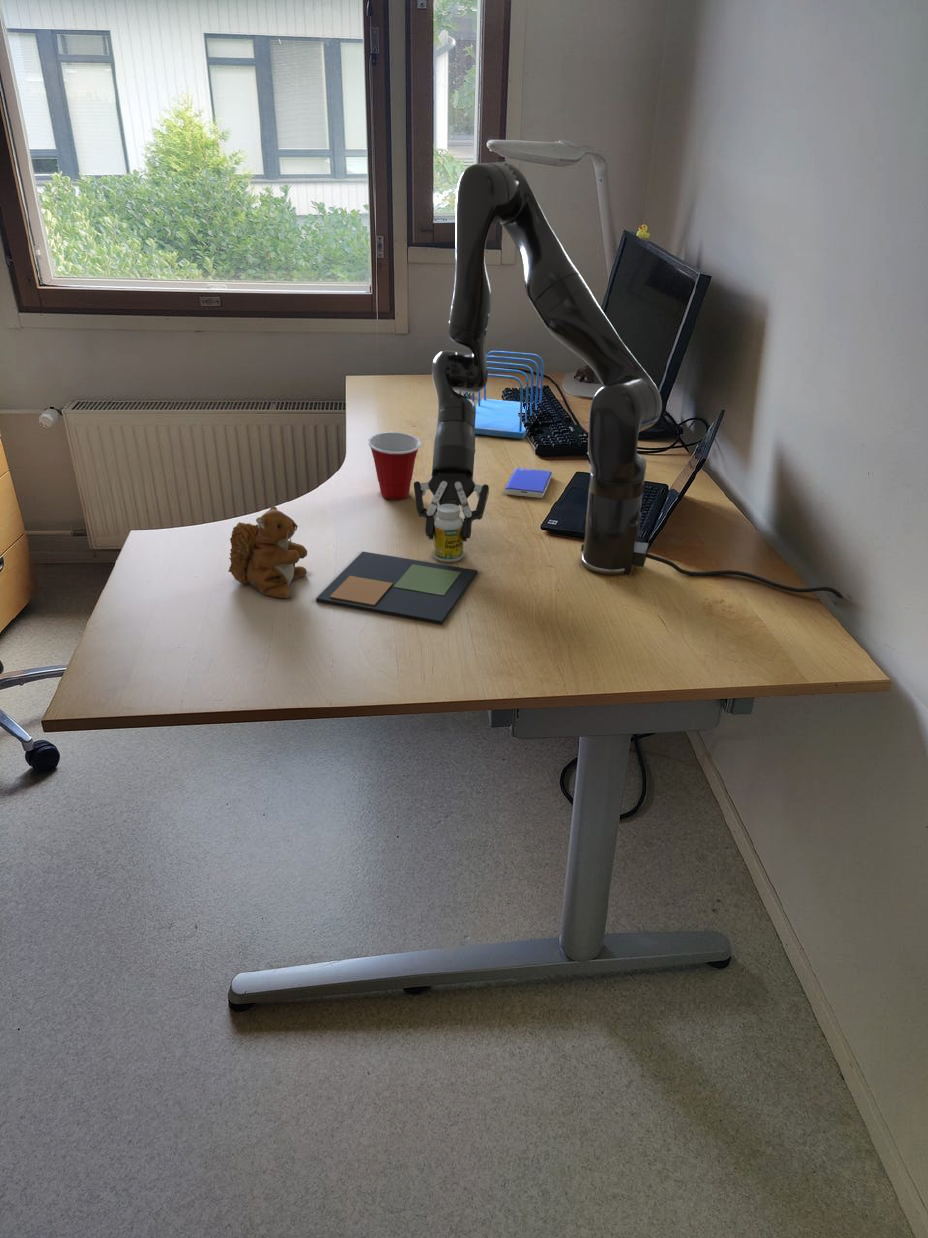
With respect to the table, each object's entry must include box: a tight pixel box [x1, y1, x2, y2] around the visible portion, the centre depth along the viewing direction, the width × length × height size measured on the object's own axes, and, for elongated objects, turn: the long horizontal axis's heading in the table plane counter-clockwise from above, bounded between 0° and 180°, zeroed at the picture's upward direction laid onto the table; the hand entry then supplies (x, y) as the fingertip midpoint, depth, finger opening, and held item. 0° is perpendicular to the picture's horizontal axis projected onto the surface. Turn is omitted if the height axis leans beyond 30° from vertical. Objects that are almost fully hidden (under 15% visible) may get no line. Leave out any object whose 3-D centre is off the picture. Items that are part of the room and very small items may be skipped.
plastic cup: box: [367, 431, 422, 501], centre depth 184 cm, size 11×11×12 cm
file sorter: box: [458, 350, 545, 440], centre depth 228 cm, size 25×17×15 cm
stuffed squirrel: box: [227, 505, 308, 599], centre depth 149 cm, size 10×14×13 cm
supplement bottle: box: [433, 504, 464, 563], centre depth 160 cm, size 5×5×10 cm
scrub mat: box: [315, 551, 479, 625], centre depth 151 cm, size 22×19×1 cm
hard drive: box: [504, 467, 553, 499], centre depth 192 cm, size 2×8×12 cm
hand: (447, 538), depth 158 cm, fingers closed on supplement bottle, 5 cm apart
